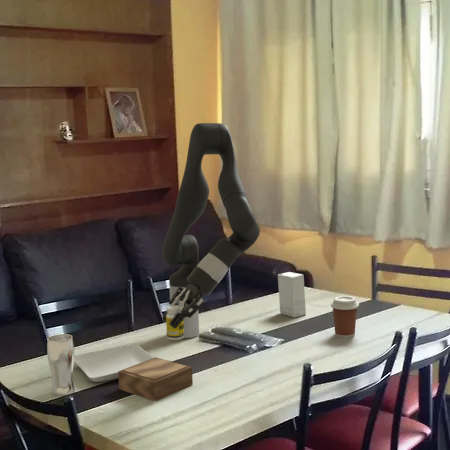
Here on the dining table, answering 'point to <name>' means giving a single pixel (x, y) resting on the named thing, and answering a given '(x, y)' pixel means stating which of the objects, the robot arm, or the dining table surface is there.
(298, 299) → the skincare box
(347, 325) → the coffee cup
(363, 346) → the dining table surface
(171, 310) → the supplement bottle
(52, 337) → the beer glass
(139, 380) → the pedestal
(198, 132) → the robot arm
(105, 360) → the salad plate
